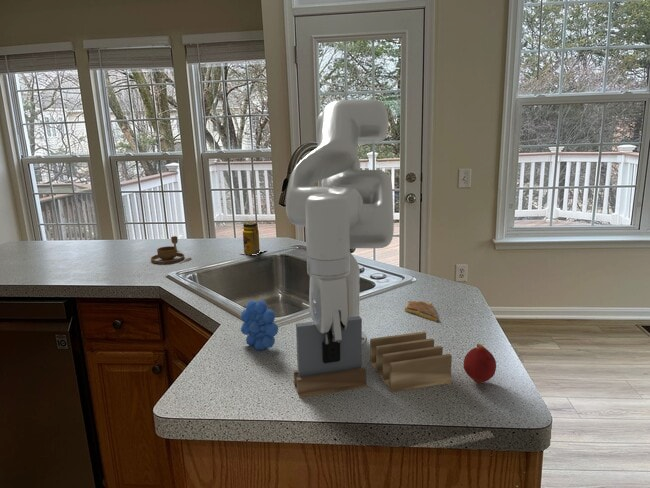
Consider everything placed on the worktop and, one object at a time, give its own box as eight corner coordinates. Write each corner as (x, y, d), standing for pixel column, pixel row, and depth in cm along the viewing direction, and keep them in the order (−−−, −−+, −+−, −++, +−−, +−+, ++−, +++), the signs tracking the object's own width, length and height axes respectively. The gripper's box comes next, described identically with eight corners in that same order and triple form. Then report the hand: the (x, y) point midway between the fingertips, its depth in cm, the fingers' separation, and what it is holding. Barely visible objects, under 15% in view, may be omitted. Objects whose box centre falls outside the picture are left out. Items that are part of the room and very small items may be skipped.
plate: (297, 383, 86) (296, 323, 83) (358, 374, 89) (359, 316, 86) (299, 387, 85) (297, 326, 82) (361, 377, 88) (361, 318, 85)
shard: (438, 324, 115) (438, 317, 115) (407, 323, 116) (407, 316, 115) (431, 307, 126) (432, 301, 125) (403, 307, 126) (403, 300, 126)
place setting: (137, 263, 172) (135, 247, 170) (174, 249, 190) (172, 235, 188) (175, 267, 165) (174, 251, 164) (209, 253, 183) (208, 239, 182)
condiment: (239, 254, 179) (237, 224, 176) (252, 249, 186) (250, 220, 183) (254, 256, 176) (253, 225, 173) (267, 251, 183) (266, 221, 180)
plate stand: (292, 384, 88) (292, 367, 87) (357, 374, 92) (357, 357, 91) (299, 401, 83) (298, 383, 82) (368, 390, 86) (368, 372, 85)
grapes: (292, 352, 101) (291, 300, 98) (269, 363, 96) (266, 309, 93) (258, 336, 109) (255, 288, 106) (235, 346, 104) (231, 296, 101)
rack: (369, 364, 95) (369, 337, 94) (422, 356, 98) (423, 330, 97) (392, 396, 84) (392, 366, 82) (451, 386, 87) (453, 357, 85)
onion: (487, 374, 91) (490, 336, 89) (499, 390, 85) (503, 350, 83) (458, 375, 91) (460, 337, 89) (468, 391, 85) (471, 351, 83)
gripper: (298, 254, 88) (301, 342, 93) (318, 281, 73) (320, 384, 78) (336, 250, 89) (337, 337, 94) (363, 276, 75) (363, 377, 80)
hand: (329, 358), depth 86 cm, fingers closed on plate, 1 cm apart
